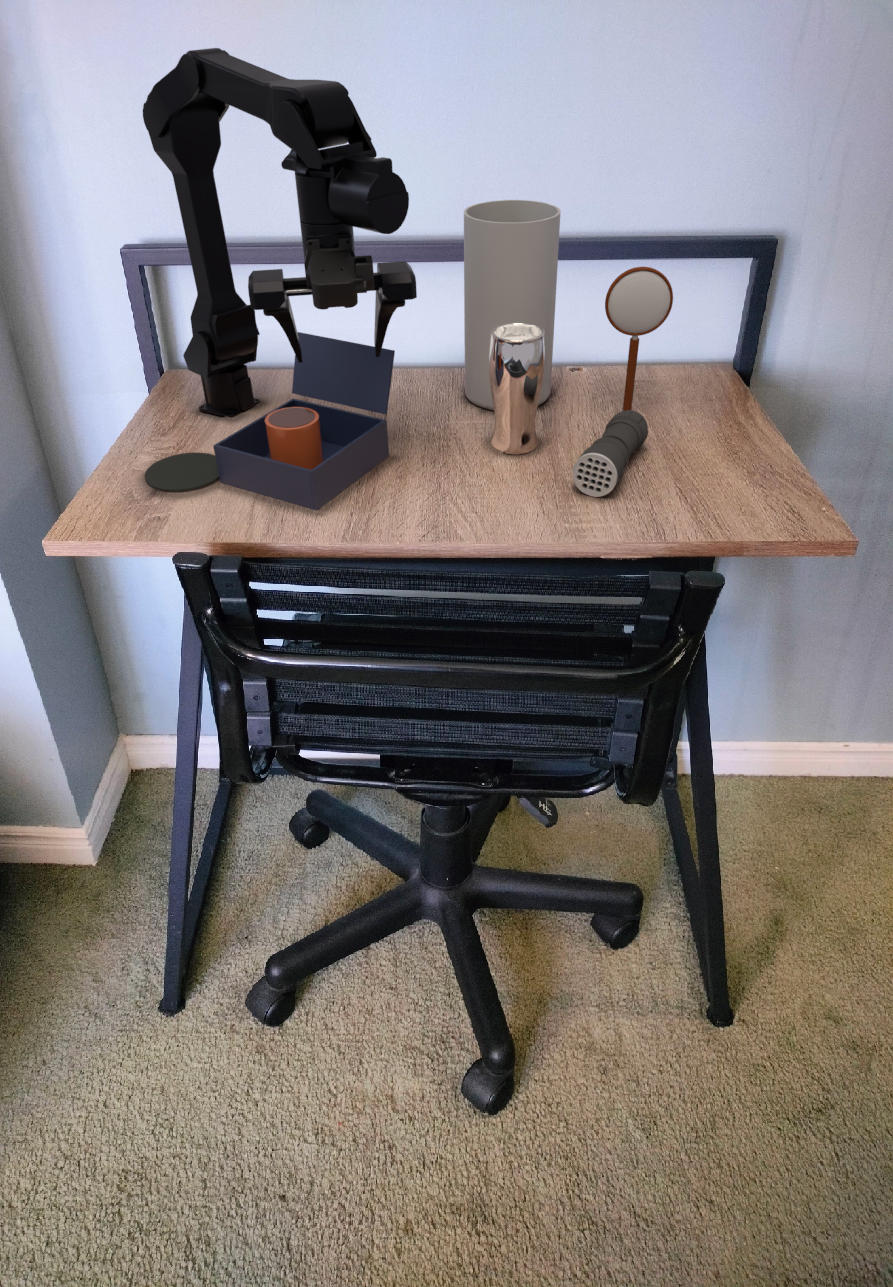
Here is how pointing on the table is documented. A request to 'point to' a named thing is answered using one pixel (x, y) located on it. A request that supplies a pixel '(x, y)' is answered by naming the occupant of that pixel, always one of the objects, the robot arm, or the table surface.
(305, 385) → the flap
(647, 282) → the magnifying glass
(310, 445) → the cup
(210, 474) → the disc
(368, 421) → the carton
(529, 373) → the beer glass
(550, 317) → the cylinder vase
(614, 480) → the flashlight
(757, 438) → the table surface
